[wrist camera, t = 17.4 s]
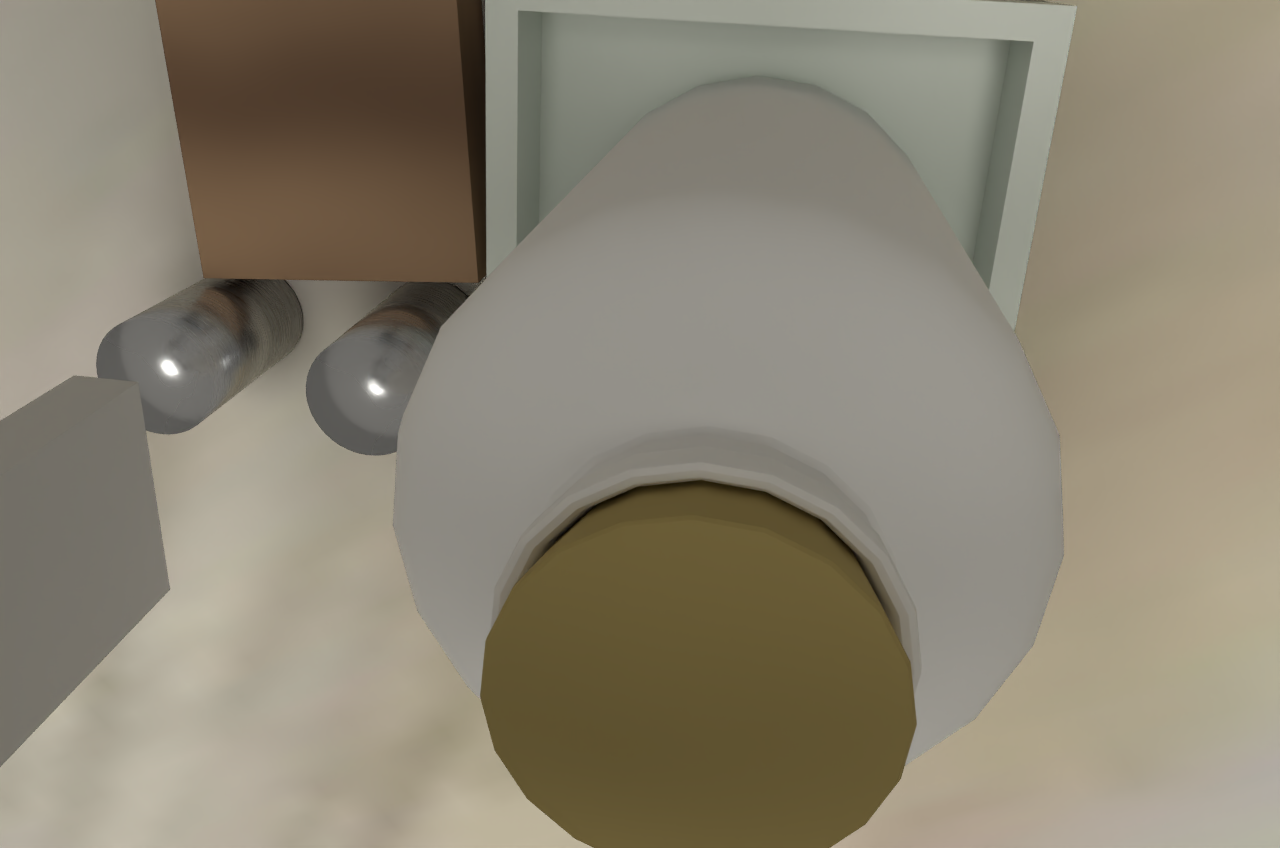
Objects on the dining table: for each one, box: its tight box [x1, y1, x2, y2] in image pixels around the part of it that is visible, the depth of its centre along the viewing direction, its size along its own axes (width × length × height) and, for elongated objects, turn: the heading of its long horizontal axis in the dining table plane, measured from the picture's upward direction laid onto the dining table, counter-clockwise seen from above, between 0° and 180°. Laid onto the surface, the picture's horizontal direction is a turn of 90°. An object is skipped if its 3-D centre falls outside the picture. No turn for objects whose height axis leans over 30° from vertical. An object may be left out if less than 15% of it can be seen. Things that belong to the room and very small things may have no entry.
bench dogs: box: [96, 278, 468, 455], centre depth 27 cm, size 3×8×5 cm, turn 87°
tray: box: [485, 0, 1077, 331], centre depth 26 cm, size 12×12×3 cm
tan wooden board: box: [155, 0, 486, 283], centre depth 26 cm, size 10×7×2 cm
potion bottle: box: [393, 76, 1064, 848], centre depth 18 cm, size 8×8×18 cm
